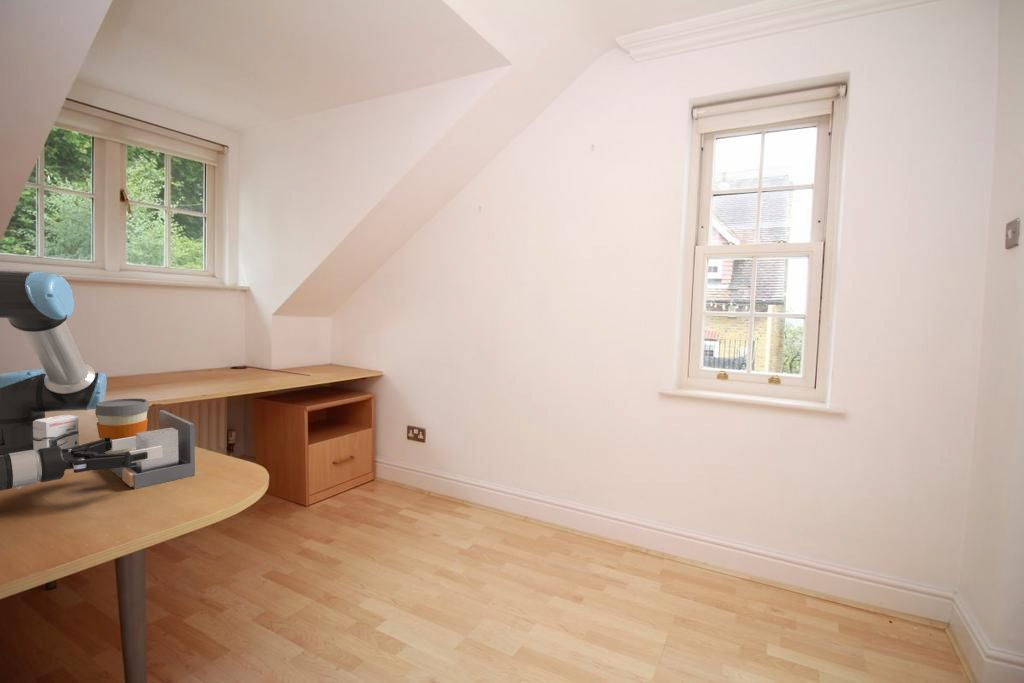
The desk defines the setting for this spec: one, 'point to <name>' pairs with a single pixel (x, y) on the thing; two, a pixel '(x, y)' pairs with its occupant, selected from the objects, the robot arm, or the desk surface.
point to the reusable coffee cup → (121, 419)
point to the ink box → (56, 432)
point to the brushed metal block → (154, 439)
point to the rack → (170, 473)
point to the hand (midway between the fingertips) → (152, 445)
